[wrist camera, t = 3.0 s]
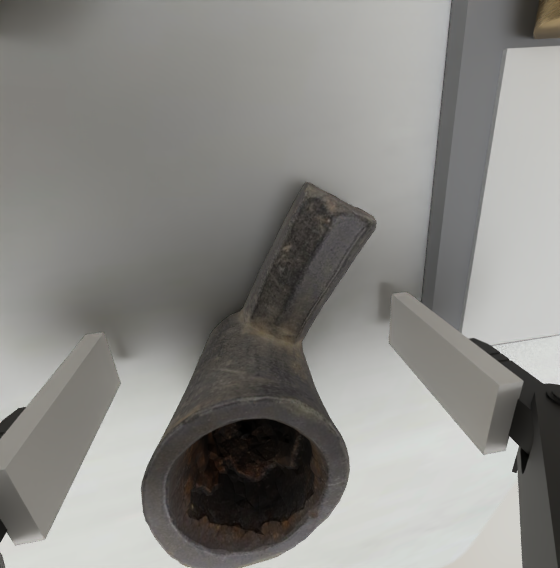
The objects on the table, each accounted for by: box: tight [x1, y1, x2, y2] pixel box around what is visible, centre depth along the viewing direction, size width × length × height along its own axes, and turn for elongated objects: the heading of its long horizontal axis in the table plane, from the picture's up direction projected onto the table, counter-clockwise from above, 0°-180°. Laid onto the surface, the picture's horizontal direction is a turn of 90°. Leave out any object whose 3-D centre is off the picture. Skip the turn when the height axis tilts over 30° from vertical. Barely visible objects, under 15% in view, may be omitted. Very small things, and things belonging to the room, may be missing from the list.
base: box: [421, 0, 560, 346], centre depth 14 cm, size 22×10×1 cm, turn 4°
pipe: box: [141, 182, 377, 568], centre depth 12 cm, size 6×13×8 cm, turn 154°
